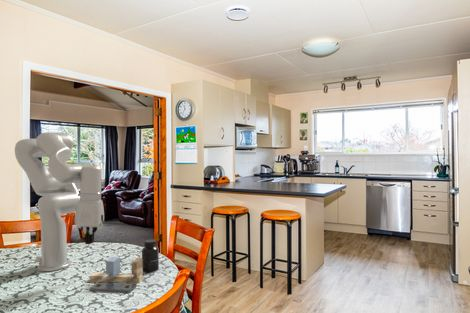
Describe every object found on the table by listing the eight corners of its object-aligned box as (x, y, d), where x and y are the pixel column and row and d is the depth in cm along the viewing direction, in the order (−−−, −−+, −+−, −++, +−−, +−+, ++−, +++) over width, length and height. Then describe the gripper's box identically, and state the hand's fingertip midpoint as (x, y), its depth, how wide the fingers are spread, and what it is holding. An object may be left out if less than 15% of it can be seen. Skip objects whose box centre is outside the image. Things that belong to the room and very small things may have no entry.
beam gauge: (79, 287, 114) (79, 265, 114) (95, 276, 124) (95, 256, 124) (132, 289, 111) (131, 267, 111) (143, 278, 121) (143, 257, 121)
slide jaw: (98, 282, 113) (98, 265, 113) (113, 272, 123) (112, 257, 123) (106, 282, 113) (106, 266, 113) (120, 272, 123) (120, 257, 123)
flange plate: (89, 291, 111) (89, 287, 111) (97, 285, 116) (97, 282, 116) (130, 292, 109) (130, 289, 109) (136, 286, 114) (136, 283, 114)
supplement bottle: (154, 273, 127) (153, 243, 127) (138, 272, 128) (138, 242, 128) (161, 267, 134) (161, 239, 134) (146, 266, 135) (146, 238, 135)
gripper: (66, 197, 121) (65, 244, 122) (102, 199, 119) (101, 247, 120) (79, 194, 129) (78, 239, 129) (113, 196, 126) (112, 242, 127)
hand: (89, 243), depth 124 cm, fingers closed
